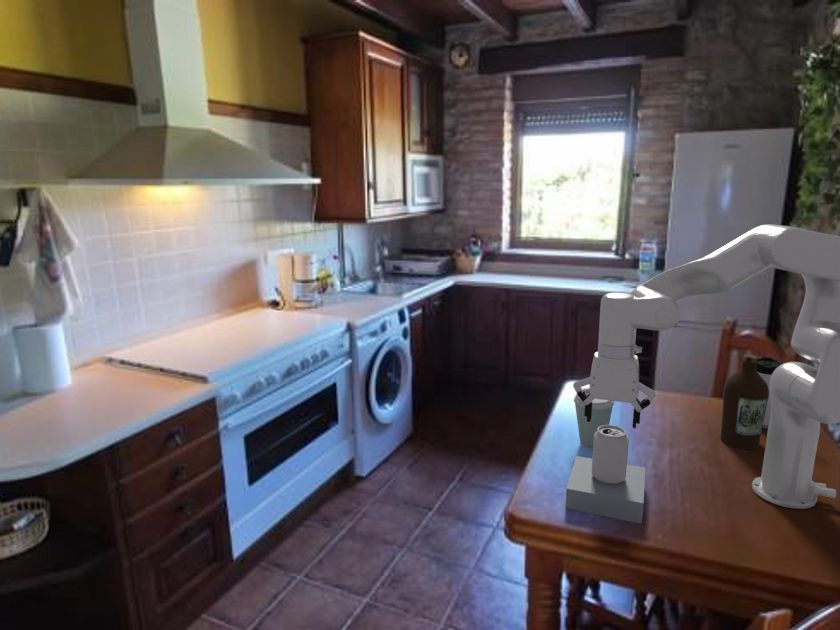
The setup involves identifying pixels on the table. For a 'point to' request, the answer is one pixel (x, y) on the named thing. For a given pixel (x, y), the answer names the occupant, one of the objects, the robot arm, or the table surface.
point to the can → (610, 454)
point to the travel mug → (767, 380)
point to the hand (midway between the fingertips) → (611, 422)
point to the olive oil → (744, 406)
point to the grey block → (606, 493)
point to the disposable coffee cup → (592, 418)
